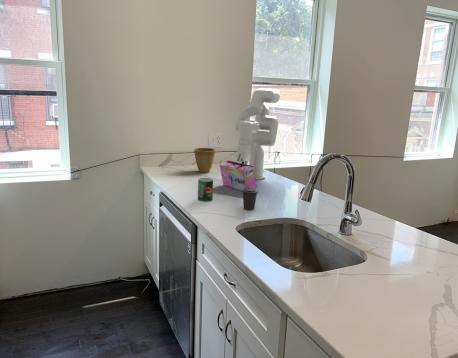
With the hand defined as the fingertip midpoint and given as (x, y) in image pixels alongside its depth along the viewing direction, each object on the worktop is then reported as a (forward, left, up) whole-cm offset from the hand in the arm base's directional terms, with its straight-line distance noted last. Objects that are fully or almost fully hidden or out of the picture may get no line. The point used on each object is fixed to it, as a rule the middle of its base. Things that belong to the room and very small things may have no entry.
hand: (243, 172), depth 230 cm
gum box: (+4, 0, -8) cm, 9 cm away
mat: (+15, 0, -9) cm, 17 cm away
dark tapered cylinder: (+37, +23, -9) cm, 44 cm away
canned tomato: (+37, -3, -9) cm, 38 cm away
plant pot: (-21, -42, -9) cm, 48 cm away
